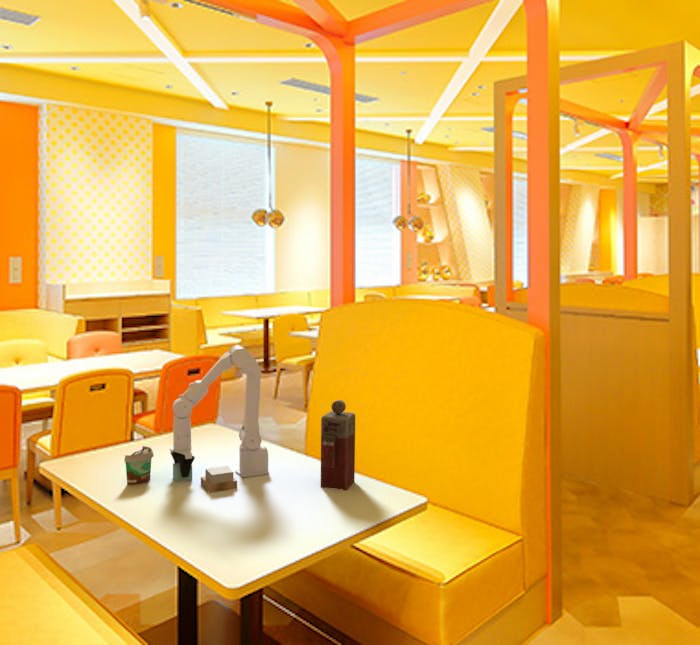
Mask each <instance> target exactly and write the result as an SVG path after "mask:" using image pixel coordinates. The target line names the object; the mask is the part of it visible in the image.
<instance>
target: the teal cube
mask: <svg viewBox="0 0 700 645" xmlns="http://www.w3.org/2000/svg"><path fill="white" fill-rule="evenodd" d="M172 478H173V479H174V480H175V482H176V483H181V482H187V481H192V480H193V464H192V465H191V468H190V473H189V476H188V477H184V478H182V476H181V471H180V465H179V463H174V462H173V463H172Z"/></svg>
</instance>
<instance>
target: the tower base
mask: <svg viewBox="0 0 700 645" xmlns="http://www.w3.org/2000/svg"><path fill="white" fill-rule="evenodd" d="M200 485H201V486H202V488H204V489H205V490H206V492H208V493H210V494H211V493H217V492H222V491H228V490H235V489H238V480H237V479H236V478H234V477H233V481H230V482H224V483H217V484H211V483H210V482H209V481H208V480H207V479H206V475H204V476H201V477H200Z"/></svg>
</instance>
